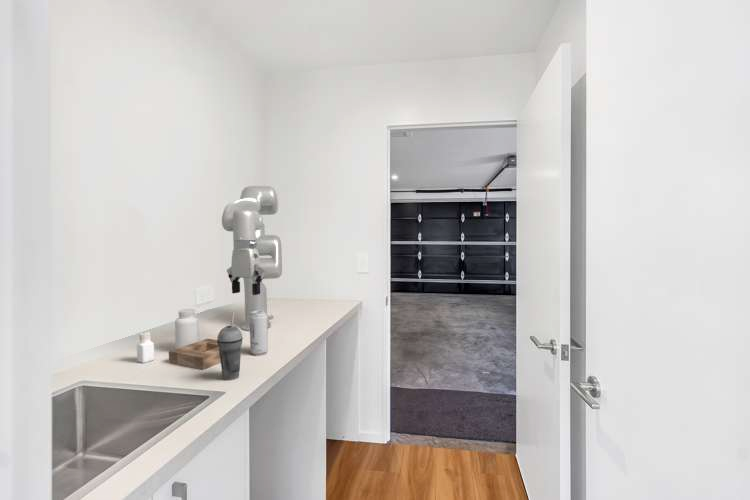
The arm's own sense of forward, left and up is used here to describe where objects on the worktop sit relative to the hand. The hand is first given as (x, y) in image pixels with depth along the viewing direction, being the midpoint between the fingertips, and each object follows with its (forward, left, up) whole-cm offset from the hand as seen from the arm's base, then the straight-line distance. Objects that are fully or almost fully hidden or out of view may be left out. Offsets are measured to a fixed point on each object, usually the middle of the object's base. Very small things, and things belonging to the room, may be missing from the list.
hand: (246, 293), depth 135 cm
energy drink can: (-2, +3, -22) cm, 22 cm away
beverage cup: (+19, +11, -22) cm, 31 cm away
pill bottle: (+6, -24, -22) cm, 33 cm away
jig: (+10, -10, -22) cm, 26 cm away
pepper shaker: (+20, -27, -22) cm, 40 cm away
